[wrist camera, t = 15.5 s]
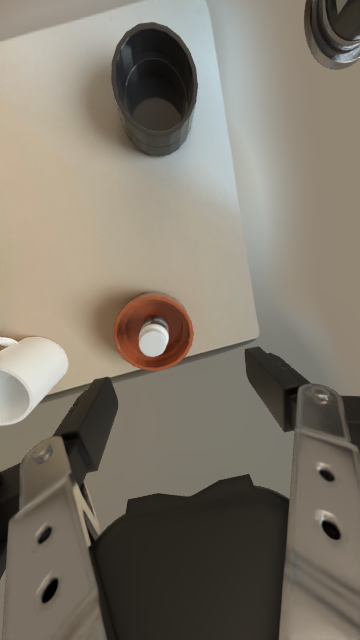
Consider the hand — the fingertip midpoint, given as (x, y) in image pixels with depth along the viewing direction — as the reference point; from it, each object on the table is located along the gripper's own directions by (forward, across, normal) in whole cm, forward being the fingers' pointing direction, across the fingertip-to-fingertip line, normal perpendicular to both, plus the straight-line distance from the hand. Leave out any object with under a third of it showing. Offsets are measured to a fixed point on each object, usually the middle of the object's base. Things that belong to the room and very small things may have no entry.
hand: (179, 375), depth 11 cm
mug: (+24, +27, +6) cm, 37 cm away
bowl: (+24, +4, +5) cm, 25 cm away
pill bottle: (+24, +4, +5) cm, 25 cm away
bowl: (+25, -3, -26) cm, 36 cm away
